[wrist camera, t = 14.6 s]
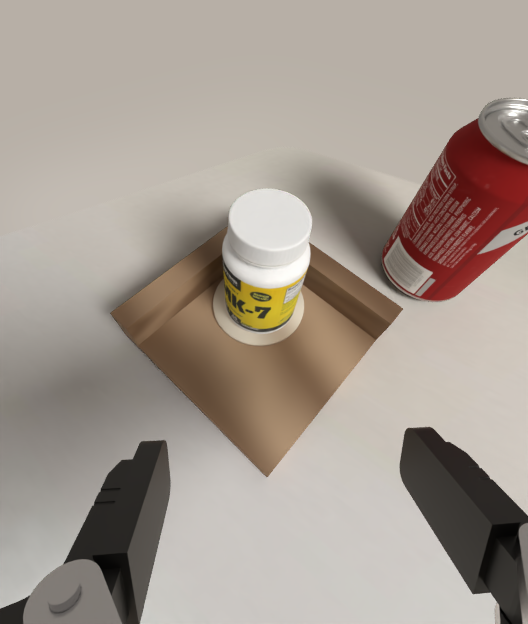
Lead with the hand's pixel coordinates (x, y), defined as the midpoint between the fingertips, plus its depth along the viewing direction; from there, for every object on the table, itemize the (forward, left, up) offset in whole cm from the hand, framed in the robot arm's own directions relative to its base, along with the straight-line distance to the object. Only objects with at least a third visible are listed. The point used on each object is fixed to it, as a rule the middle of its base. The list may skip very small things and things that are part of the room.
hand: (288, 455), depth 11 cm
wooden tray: (+6, +6, -9) cm, 13 cm away
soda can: (+19, 0, -9) cm, 21 cm away
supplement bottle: (+7, +7, -8) cm, 13 cm away
